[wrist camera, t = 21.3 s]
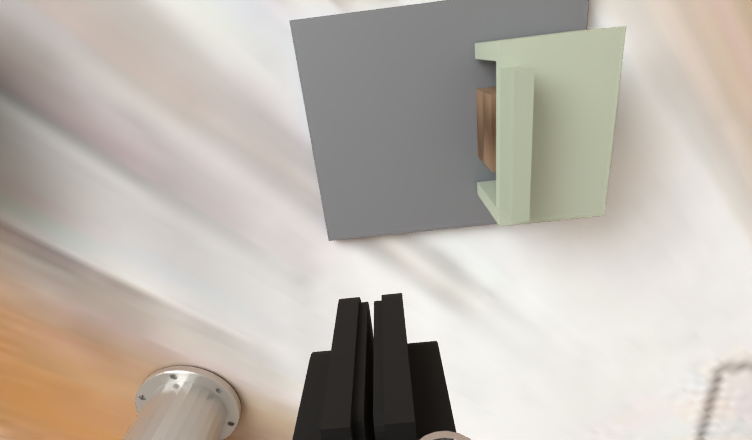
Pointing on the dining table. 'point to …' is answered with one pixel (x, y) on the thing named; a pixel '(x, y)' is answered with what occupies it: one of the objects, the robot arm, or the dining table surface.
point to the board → (407, 108)
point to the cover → (553, 124)
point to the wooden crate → (486, 126)
